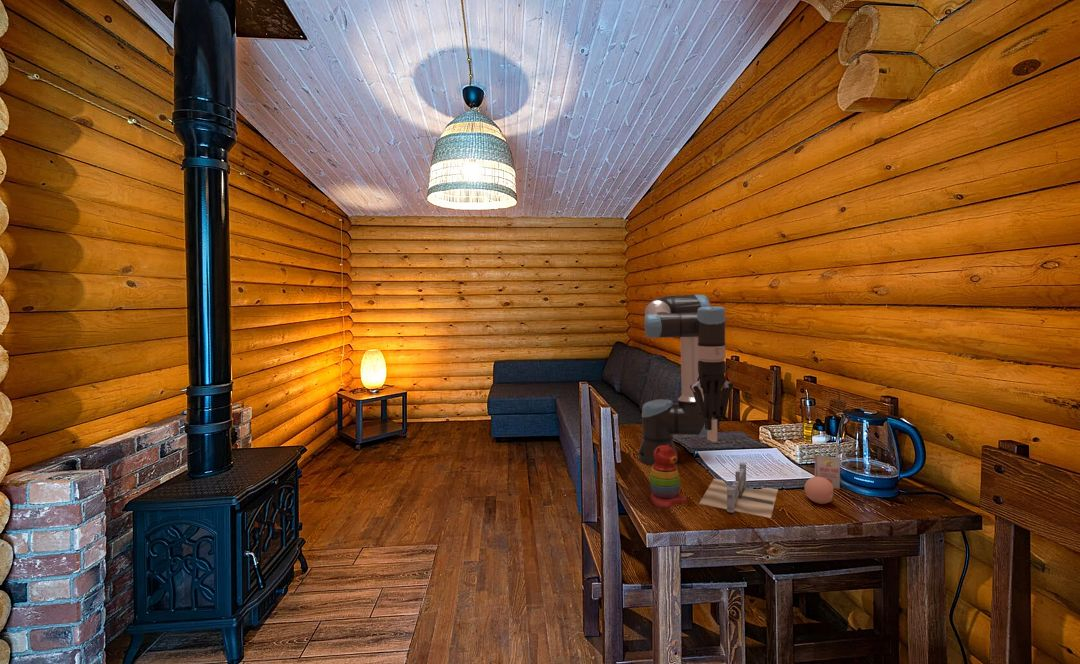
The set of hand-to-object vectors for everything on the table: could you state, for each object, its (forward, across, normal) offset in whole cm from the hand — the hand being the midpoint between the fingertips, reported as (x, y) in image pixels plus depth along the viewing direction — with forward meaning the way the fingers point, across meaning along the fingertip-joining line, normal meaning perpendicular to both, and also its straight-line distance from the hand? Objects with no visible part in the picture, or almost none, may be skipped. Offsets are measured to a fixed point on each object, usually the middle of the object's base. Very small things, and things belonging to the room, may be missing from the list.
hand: (712, 440), depth 135 cm
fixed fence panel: (+22, +17, +11) cm, 30 cm away
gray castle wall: (+21, +8, +2) cm, 23 cm away
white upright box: (+23, +47, +7) cm, 52 cm away
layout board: (+22, +14, +7) cm, 27 cm away
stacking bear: (+23, -8, +13) cm, 27 cm away
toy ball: (+23, +35, -3) cm, 42 cm away
